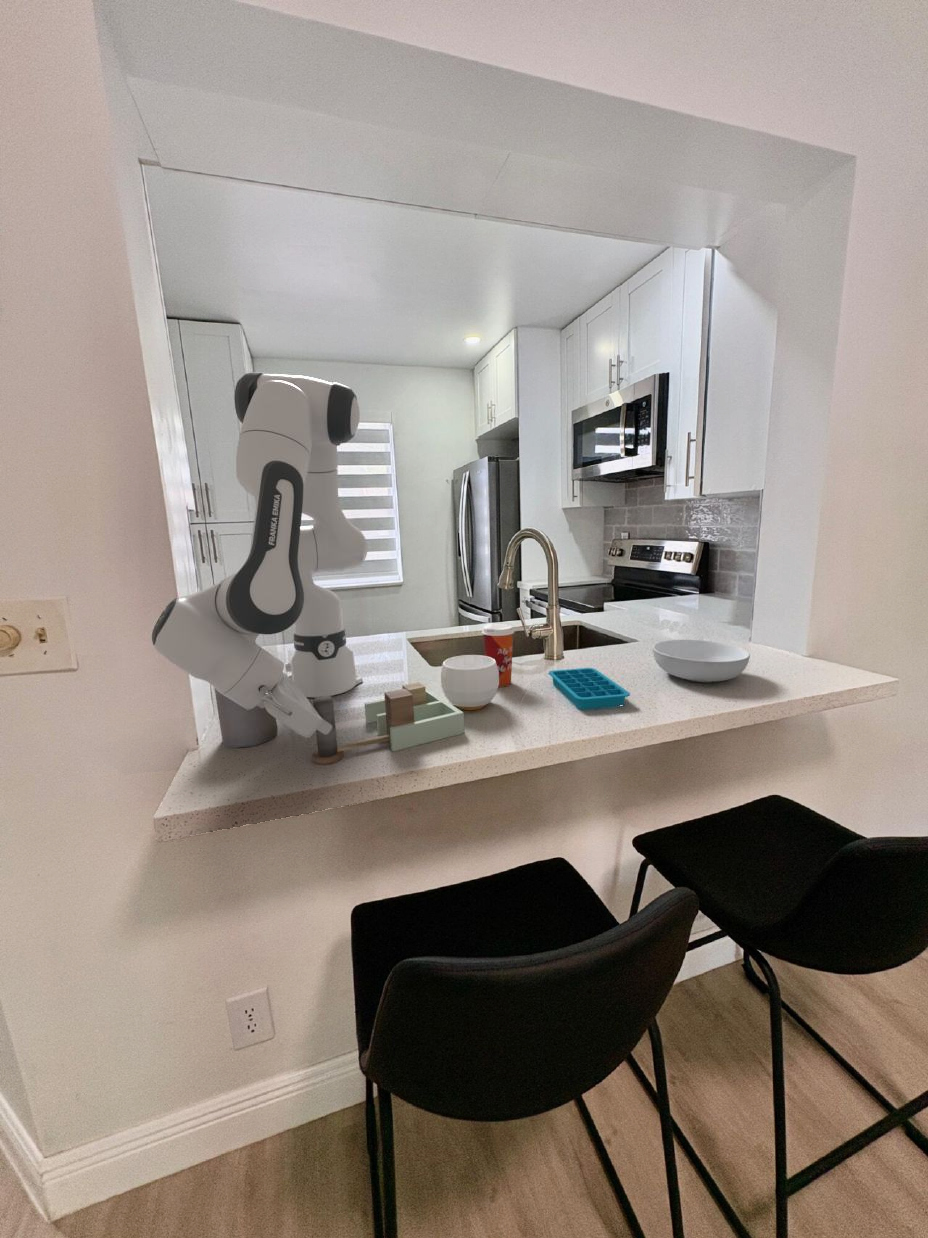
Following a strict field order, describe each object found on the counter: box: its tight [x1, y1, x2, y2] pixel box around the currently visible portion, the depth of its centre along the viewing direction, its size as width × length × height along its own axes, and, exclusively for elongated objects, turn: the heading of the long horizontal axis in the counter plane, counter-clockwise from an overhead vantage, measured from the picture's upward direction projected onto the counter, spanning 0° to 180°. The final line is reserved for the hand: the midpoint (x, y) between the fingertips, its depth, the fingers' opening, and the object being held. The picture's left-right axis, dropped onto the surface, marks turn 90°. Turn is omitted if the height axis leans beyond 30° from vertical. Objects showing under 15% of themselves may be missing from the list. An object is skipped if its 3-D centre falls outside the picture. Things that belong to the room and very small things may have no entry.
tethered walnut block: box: [312, 688, 414, 765], centre depth 86 cm, size 5×18×10 cm, turn 115°
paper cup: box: [481, 623, 515, 688], centre depth 119 cm, size 8×8×14 cm
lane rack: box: [364, 689, 465, 752], centre depth 95 cm, size 15×14×4 cm
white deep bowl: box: [440, 654, 499, 711], centre depth 105 cm, size 12×12×10 cm
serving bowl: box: [652, 639, 751, 683], centre depth 119 cm, size 21×21×7 cm
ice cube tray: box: [548, 667, 631, 711], centre depth 111 cm, size 12×20×3 cm, turn 8°
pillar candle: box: [214, 688, 278, 749], centre depth 93 cm, size 10×10×15 cm
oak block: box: [401, 681, 427, 706], centre depth 99 cm, size 4×4×7 cm
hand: (325, 724), depth 83 cm, fingers closed on tethered walnut block, 3 cm apart
